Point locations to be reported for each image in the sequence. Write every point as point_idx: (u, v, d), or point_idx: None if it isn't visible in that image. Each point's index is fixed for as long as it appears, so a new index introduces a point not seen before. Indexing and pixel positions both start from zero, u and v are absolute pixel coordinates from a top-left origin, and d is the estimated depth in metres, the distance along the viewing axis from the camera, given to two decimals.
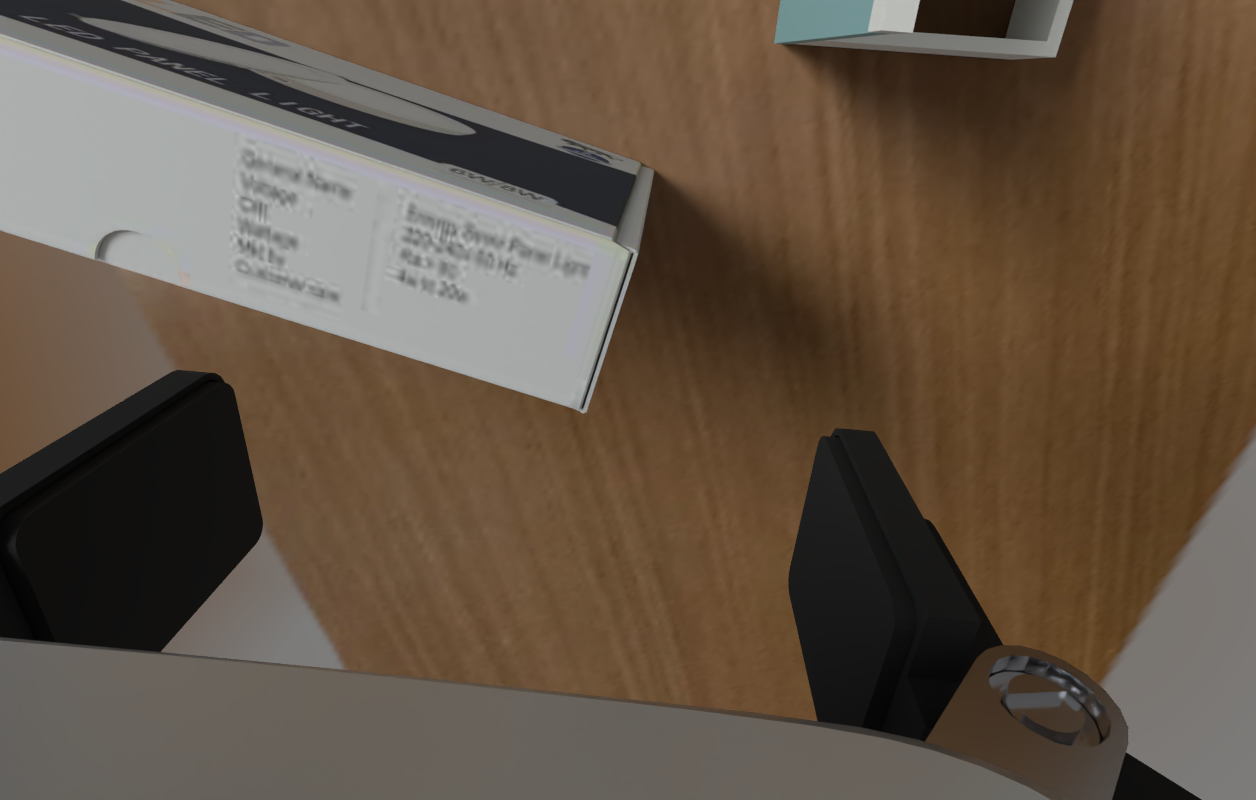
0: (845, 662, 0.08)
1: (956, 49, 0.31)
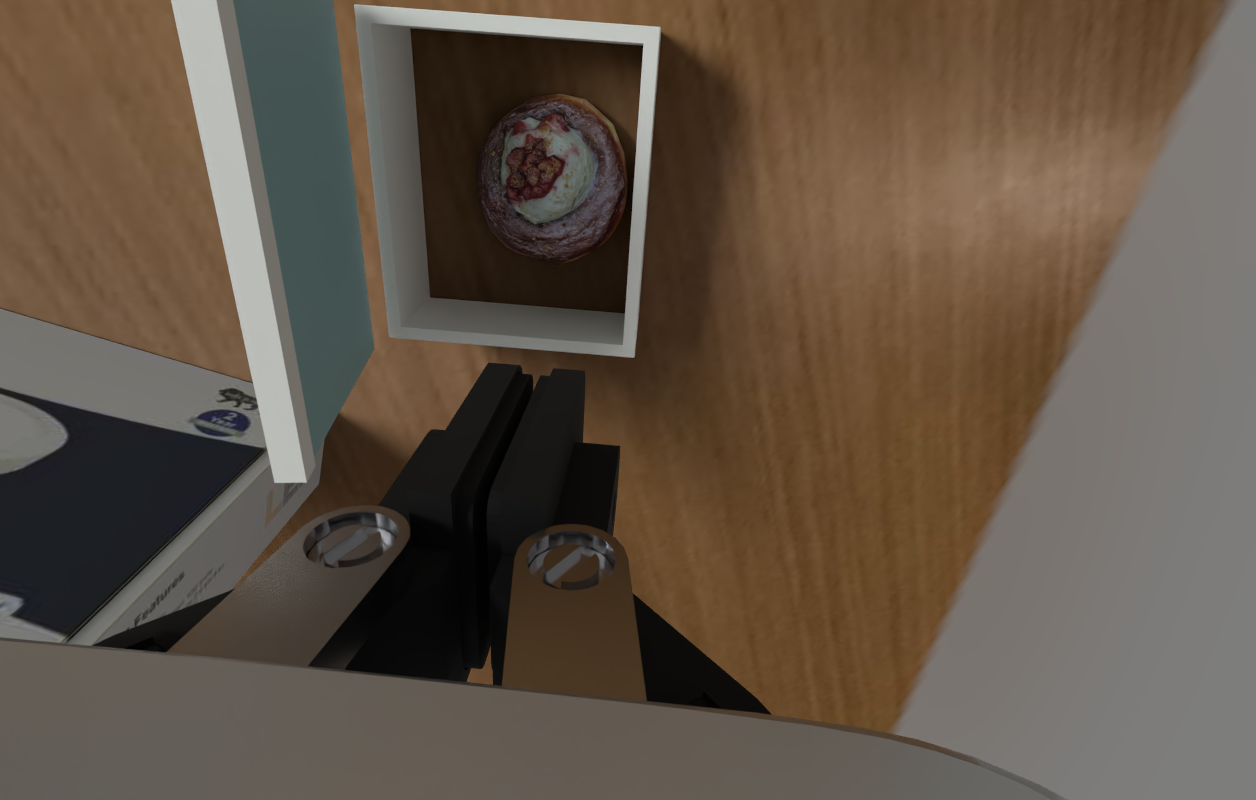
0: None
1: (541, 348, 0.32)
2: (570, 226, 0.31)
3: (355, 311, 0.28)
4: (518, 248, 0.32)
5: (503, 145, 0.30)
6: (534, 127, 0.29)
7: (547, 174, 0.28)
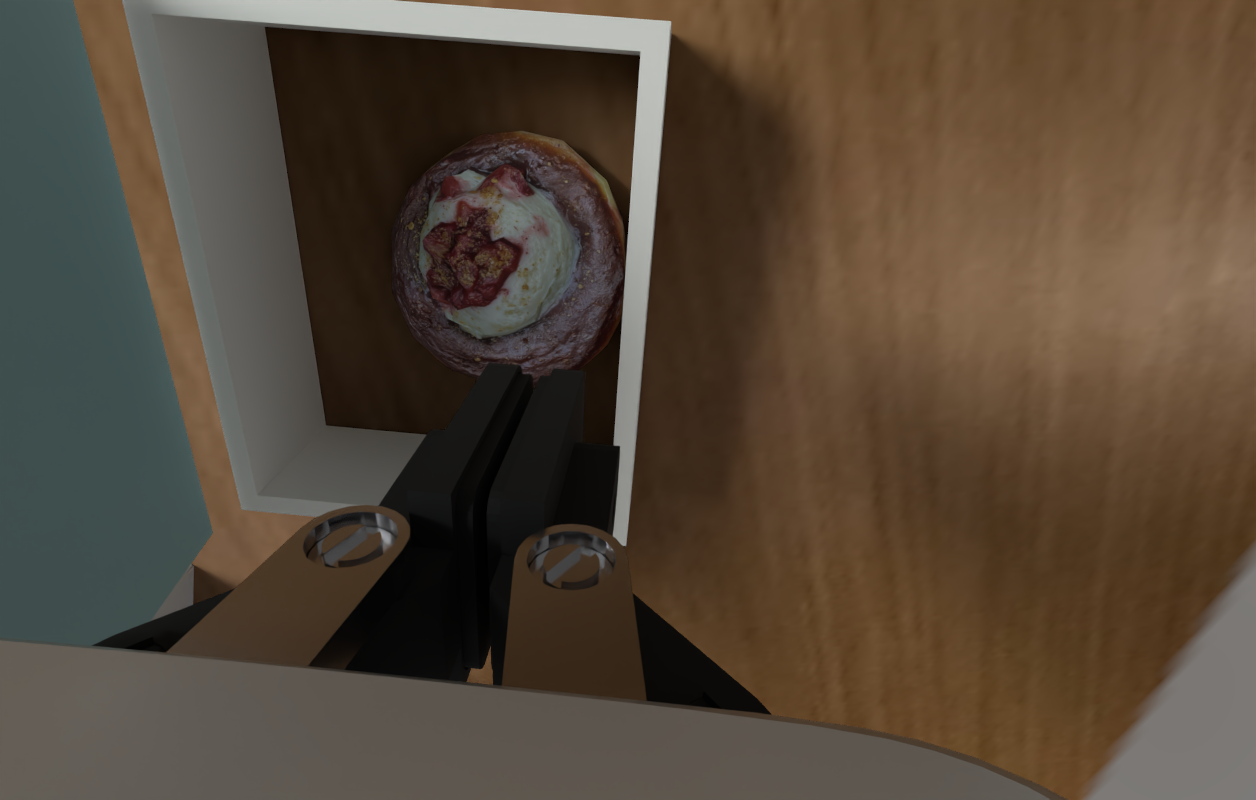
0: None
1: None
2: (536, 342, 0.19)
3: (147, 504, 0.17)
4: (456, 368, 0.21)
5: (427, 214, 0.19)
6: (474, 187, 0.18)
7: (491, 271, 0.16)
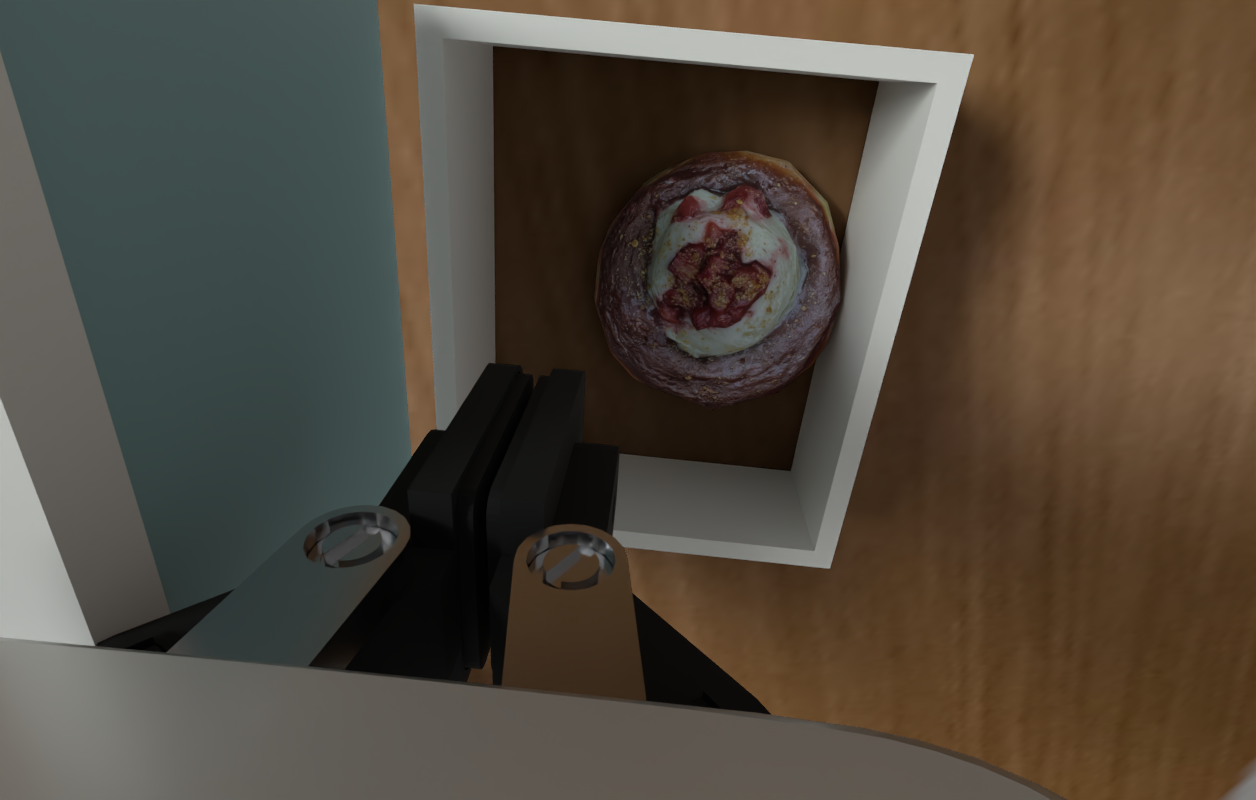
0: None
1: (683, 550, 0.20)
2: (752, 362, 0.19)
3: None
4: (656, 385, 0.21)
5: (654, 232, 0.19)
6: (714, 208, 0.18)
7: (746, 294, 0.16)
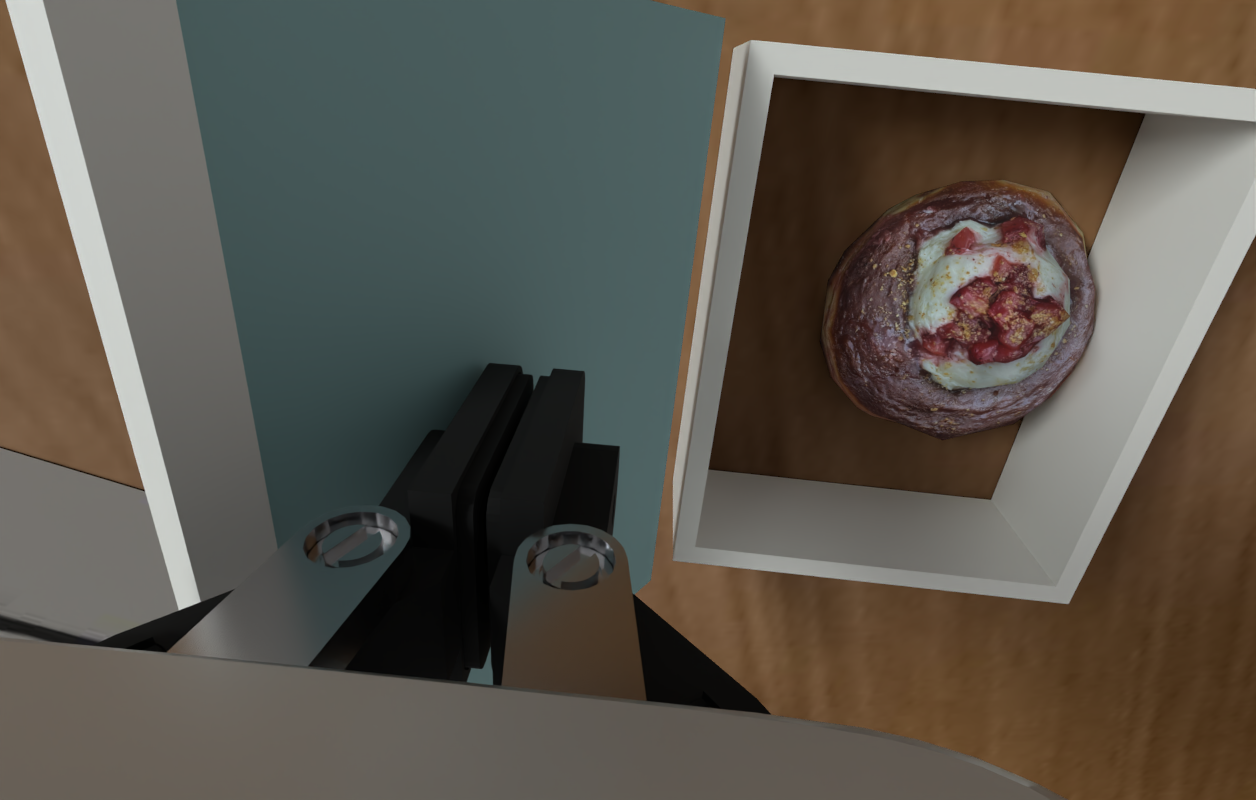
0: None
1: (918, 585, 0.20)
2: (1004, 395, 0.19)
3: None
4: (890, 415, 0.20)
5: (916, 263, 0.18)
6: (990, 240, 0.17)
7: (1044, 331, 0.16)
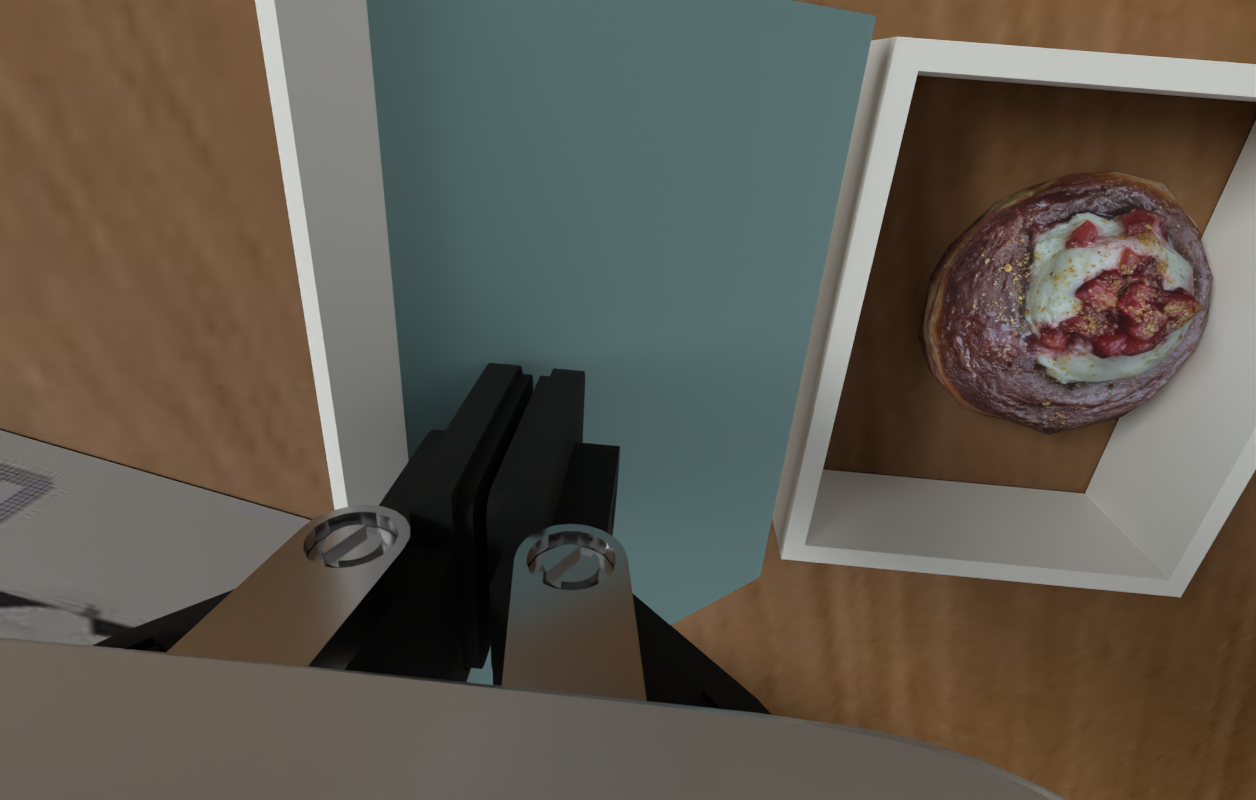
0: None
1: (1028, 580, 0.20)
2: (1119, 388, 0.19)
3: (714, 528, 0.17)
4: (997, 410, 0.20)
5: (1031, 257, 0.18)
6: (1112, 232, 0.17)
7: (1178, 323, 0.16)
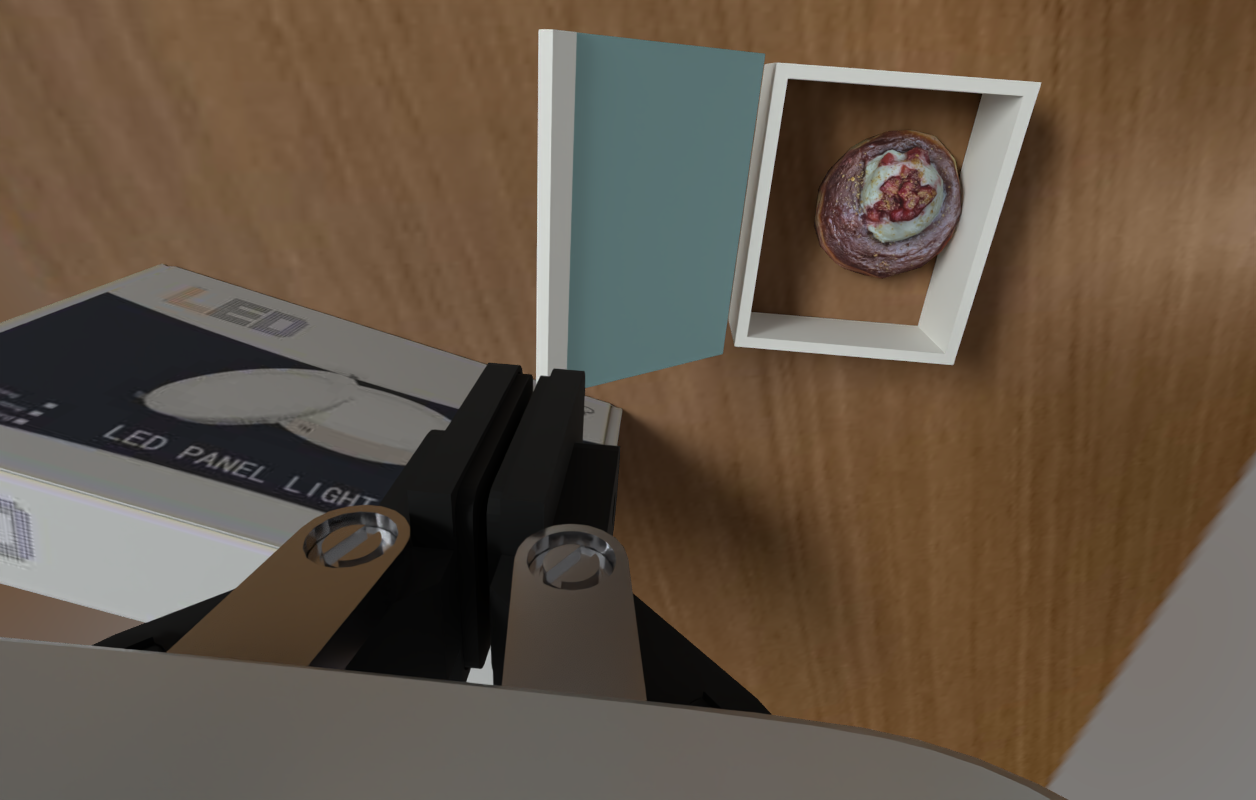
0: None
1: (870, 356, 0.36)
2: (912, 246, 0.35)
3: (695, 311, 0.34)
4: (852, 262, 0.37)
5: (864, 173, 0.35)
6: (901, 159, 0.34)
7: (925, 201, 0.32)
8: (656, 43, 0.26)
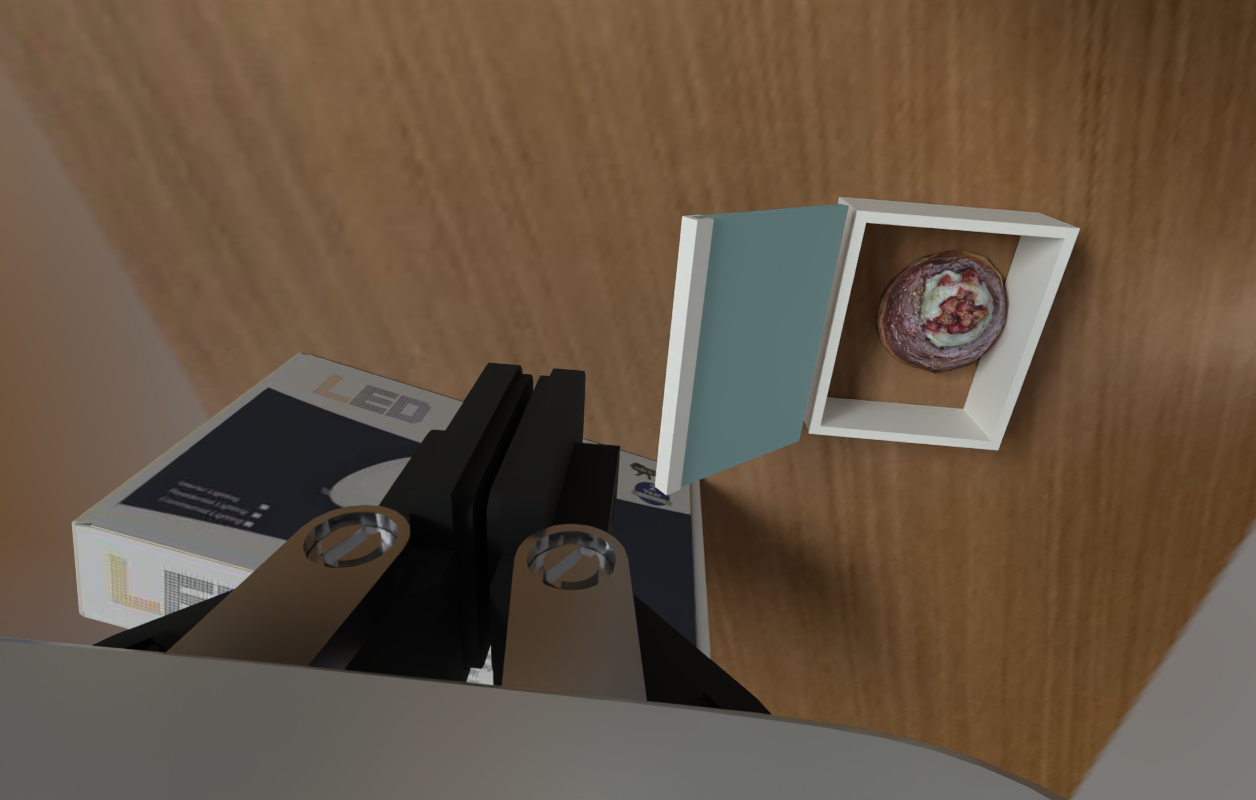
0: None
1: (926, 442, 0.42)
2: (964, 350, 0.41)
3: (781, 410, 0.39)
4: (910, 360, 0.42)
5: (924, 288, 0.40)
6: (957, 279, 0.39)
7: (978, 319, 0.38)
8: (769, 214, 0.32)
